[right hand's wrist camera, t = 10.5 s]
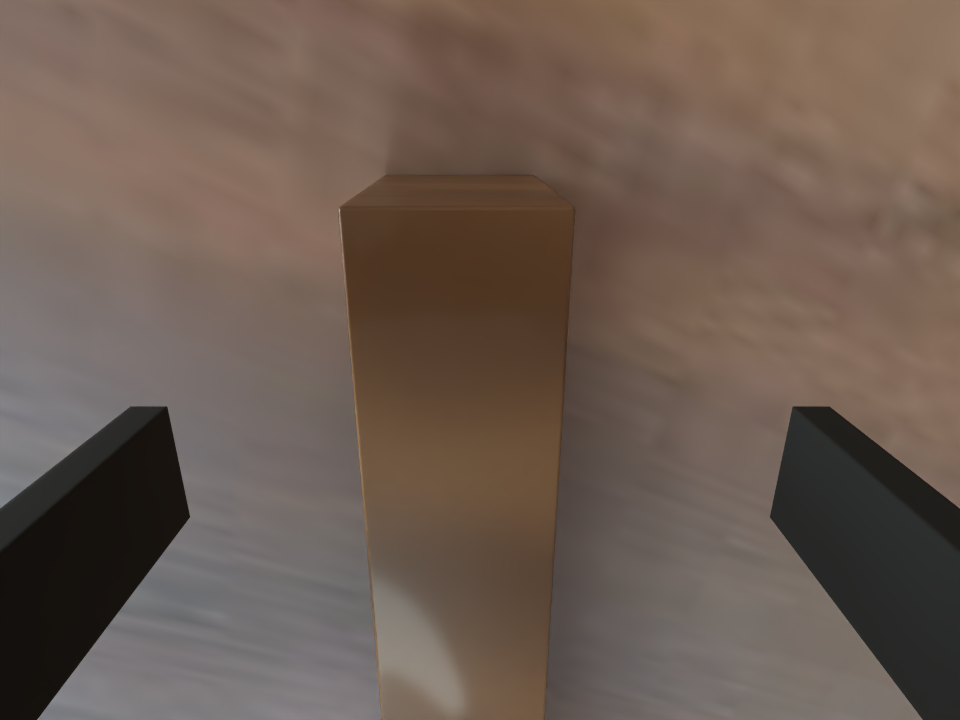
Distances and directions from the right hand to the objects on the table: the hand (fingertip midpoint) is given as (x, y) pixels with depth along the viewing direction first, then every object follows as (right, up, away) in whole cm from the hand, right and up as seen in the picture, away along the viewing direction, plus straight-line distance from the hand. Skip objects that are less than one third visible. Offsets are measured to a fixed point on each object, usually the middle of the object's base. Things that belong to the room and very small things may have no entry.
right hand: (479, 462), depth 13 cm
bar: (-1, -25, +19) cm, 32 cm away
